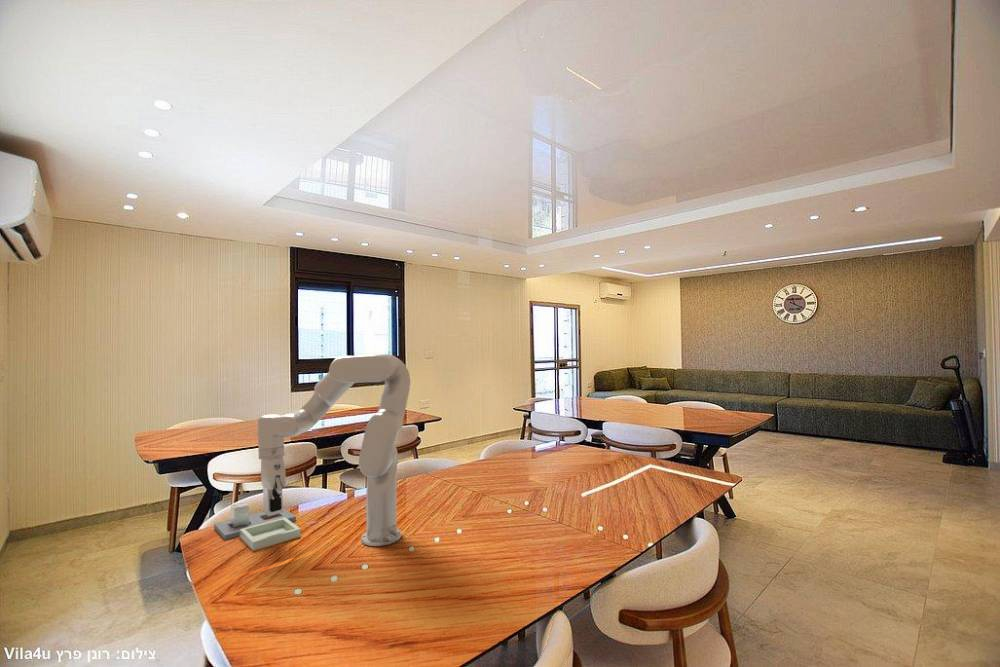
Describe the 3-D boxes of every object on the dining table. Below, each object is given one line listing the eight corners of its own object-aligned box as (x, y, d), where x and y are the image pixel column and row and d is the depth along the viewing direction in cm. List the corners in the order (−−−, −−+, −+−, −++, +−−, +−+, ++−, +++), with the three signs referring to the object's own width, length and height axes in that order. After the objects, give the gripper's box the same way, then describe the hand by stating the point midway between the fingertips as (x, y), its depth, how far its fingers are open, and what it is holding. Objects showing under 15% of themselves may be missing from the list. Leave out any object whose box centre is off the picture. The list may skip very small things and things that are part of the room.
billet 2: (282, 512, 143) (282, 484, 143) (268, 516, 139) (267, 487, 140) (278, 509, 146) (277, 481, 146) (263, 513, 143) (263, 485, 143)
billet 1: (248, 531, 149) (248, 504, 150) (234, 535, 146) (234, 508, 147) (244, 527, 152) (245, 501, 153) (230, 531, 149) (230, 505, 150)
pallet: (295, 523, 156) (295, 516, 156) (224, 543, 140) (224, 535, 140) (281, 513, 166) (281, 506, 166) (213, 530, 150) (214, 523, 150)
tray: (300, 539, 142) (300, 528, 142) (252, 554, 132) (253, 542, 132) (285, 527, 152) (285, 517, 152) (239, 540, 142) (239, 529, 142)
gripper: (293, 453, 140) (294, 511, 139) (275, 447, 152) (276, 500, 151) (267, 458, 135) (269, 518, 134) (251, 451, 147) (252, 506, 146)
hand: (273, 508), depth 143 cm, fingers closed on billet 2, 4 cm apart
